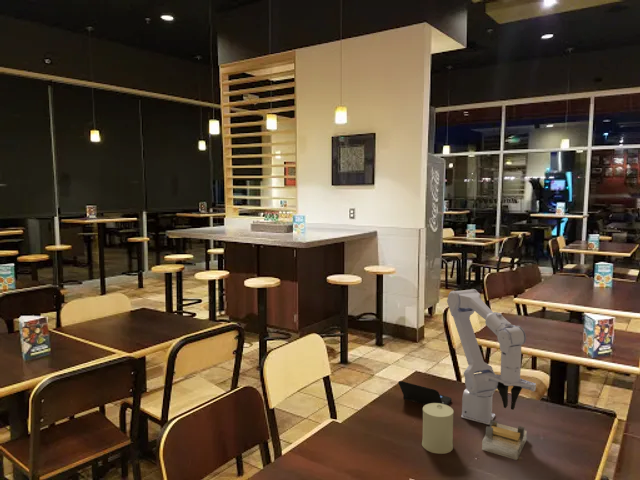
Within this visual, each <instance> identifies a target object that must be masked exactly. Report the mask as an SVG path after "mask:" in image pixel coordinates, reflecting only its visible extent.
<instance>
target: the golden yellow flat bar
mask: <svg viewBox="0 0 640 480" xmlns="http://www.w3.org/2000/svg"><path fill="white" fill-rule="evenodd" d="M491 428H493V434H495V435H499V436H503V437H506V438H510V439H514V440H517V441H518V439H519V437H520V433H518V432H514V431H510V430H507V429H503V428H499V427H495V426H491Z"/></svg>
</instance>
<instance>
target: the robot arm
mask: <svg viewBox="0 0 640 480" xmlns="http://www.w3.org/2000/svg"><path fill="white" fill-rule="evenodd" d="M446 302H447V306H448V309H449V312H450V315H451V317H452V318H453V321H454V324H455V328H456V331H457V333H458V337H459V340H460V343H461V347H462V349H463V352H464V357H465V359H466V361H467V365H468V366H467V367H466V369H465V370H464V371H463V376H464V385H465V389H464V390H463V393H462V399H461V414H460V415H461V418H462V419H466V420H470V421H473V422H477V423H481V424H484V425H489V426H490V420H494V418H495V417H496V414H495V413H493V394H495V392H496V390H498V393H499V394H500V397H501V400H502V404H503V408H505V409H506V408H507V407H508V405H509V404H508V403H509V401H508V400H509V398H508V397H509V395H508V394H509V387H512V388H510V395H511V396H510V397H511V400H510V403H511V404H510V410H514V409H515V408H516V403H517V400H518V398H519V395H520V393H521V391H522V389H524V390H529V391H530V392H535V391H536V389H537V388H536V387H537V384H536V382H533V381H529V380H526V379H523V378H521V372H522V371H521V366H522V365H521V364H522V346H523V345H524V344H526V342H527V335H526V334H527V333H526V332H525V330H524V328H522V327H521V326H520V325H515V324H512V323H511V322H510V321H509V320H508V319H506V318H505V317H504V316H503V314H502V313H501V312H494V311H493V310H492V309H490V307H489V306H488V305H487V304H486V303H485V302H484V300H482V296H481V293H480V292H478V290H477V289H474V288H471V289H465V290H451V291H450V292H449V293H448V295H447V299H446ZM474 312H475V313H476V314H478V315H479V316H480V317H481V318H482V319H483V320H485V323H484V324H485V326H487V328H488V329H489V330H490V331H492V332H493V333H494V334H495V336H496V337H497V341H498V344H499V350H500V374H496V373H495V371H494V369H493V367H492V366H491V364H488V363H487V362H485V361H484V358H483V354H482V352H481V349H480V346H479V343H478V340H477V337H476V333H475V331H474V329H473V325H472V323H471V319H470V317H471V315H473V314H474Z"/></svg>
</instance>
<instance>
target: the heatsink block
mask: <svg viewBox="0 0 640 480" xmlns="http://www.w3.org/2000/svg"><path fill="white" fill-rule="evenodd" d="M491 426H495V427H499V428H503V429H507V430H510V431H514V432H518V427H517V428H516V427H513V426H509V425H506V424H502V423H498V420H497V421H496V420H494V419H493V420H490V424H489V426H487V425H486V427H485V434H484V437H483V439H482V440H481V450H482V451H484V452H488V453H491V454H495V455H497V456H498V455H499V456H502V457H504V458H508V459H512V460H515V461H517V460H518V459H519V457H520V455H521V453H522V451H523V448H524V446H525V444H526V442H527V439H528V438H527V436H528V435H527V434H528V433H527V432H528V431H527V430H525V429H524V436H523V437H521V436H520V437H519V439H518V441H517V440H514V439H510V438H506V437H503V436H499V435H495V434H493V428H491Z"/></svg>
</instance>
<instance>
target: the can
mask: <svg viewBox="0 0 640 480" xmlns="http://www.w3.org/2000/svg"><path fill="white" fill-rule="evenodd" d="M454 413H455V412H454V409H453V408H452V407H451V406H449V404H448V405H445V404H441V403H430V404H426V405H423V407H422V442H421V445H422V447H423V448H424V449H425V450H426V451H427V452H430V453H433V454H437V455H442V454H448V453H451V451H453V449H454V445H453V442H454V441H453V440H454V439H453V436H454V435H453V433H454V428H453V427H454Z"/></svg>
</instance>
